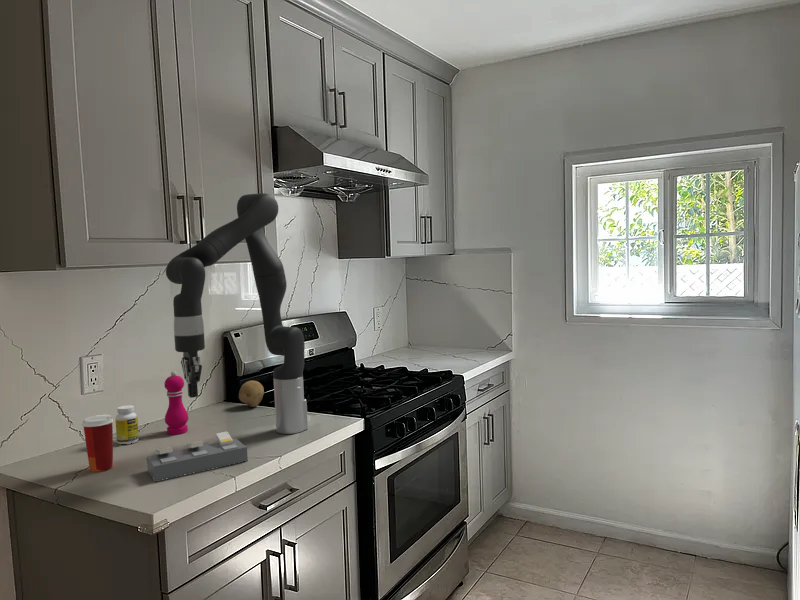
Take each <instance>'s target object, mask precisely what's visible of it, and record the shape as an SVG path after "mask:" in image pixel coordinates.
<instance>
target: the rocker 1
mask: <svg viewBox="0 0 800 600" xmlns="http://www.w3.org/2000/svg"><path fill="white" fill-rule="evenodd" d="M173 451H174V449H173V446H167V447H163V448H158V449H156V450H155V454H164V453H169V452H173Z"/></svg>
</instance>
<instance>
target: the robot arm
mask: <svg viewBox="0 0 800 600" xmlns="http://www.w3.org/2000/svg"><path fill="white" fill-rule="evenodd" d="M278 204H279V203H278V201H277V199H276V198H275V197H274V195H272V194H269V193H266V192H265V193H263V192H261V193H251V194H243V195H241V196H240V197H239V199H238V201H237V204H236V213H237V218H235V219H233V220H232V221H230V222H227V223H226V224H223V225H221V226H219V227H218V228H216V229H214V230H213V231H211V232H210V233H208V234H207V235H206V236H204V238H202V239H201V240H199V241H198V242H197V243H196V244H195V245H194V246H192V247H190V248H188V249H185V251H182V252H181V253H179V254H177V255H176V256H174V257H173V258H171V260H170V261H169V262H168V264H167V265H166V268H165V276H166V278H167V279H168V280H169V282H171V283H173V284H175V285H181V288H180V293H178V294H176V295H174V297H173V302H172V303H173V335H174V349H175V351H176V352H178V353H183V354H182V357H181V360H180V364H181V369H182V371H183V377H184V378H183V379H184V380H185V382H186V384H187V396H188V397H189V398H190V399H191V398H198V396H199V390H198V383H199V382H200V381H201V377H202V369H203V365H202V364H201V357H200V356H199V354H198V352H199V351H203V350H205V348H206V343H205V342H206V340H205V328H204V320H203V308H202V296H203V292H204V287H205V282H206V269H205V268H206V267H210V266H212V265H214V264H216V263H217V262H218V261H219V260H220V259H222V258H223V257H224V256H225V255H226V254H227V253H228V252H230V251H231V250H232V249H233V248H234V247H236V246H237V245H238V244H240V243H241V242H243V240H245V242H246V246H247V249H248V250H247V251H248V253H249V254H248V255H249V258H250V262H251V267H252V272H253V278H254V281H255V287H256V290H257V294H258V299H259V303H260V310H261V315H262V323H263V324H262V325H263V330H264V332H263V333H264V339H265V344H266V347H267V350H268V352H269V353H270V354H271V355H274V356H283V363H282V364H281V365H280V366H277V367H275V368H274V369H273V370H272V371H273V373H272V376H273V379H272V380H273V394H274V395H273V396H274V413H275V428H276V429H275V430H276V432H277V433H279V434H285V435H290V434H299V433H301V432H303V431H305V430H308V429H309V427H308V405H307V403H308V401H307V399H306V398H305V396H304V395H305V393H304V391H305V390H304V374H303V372H304V369H305V346H306V345H305V337H304V333H303V331H302V330H301V329H300V328H299V327H297V326H284V325H283V321H282V316H281V315H282V314H281V308H282V307H281V306H282V305H283V304H282V303H283V300H284V298H285V294H286V291H287V278H286V273H285V269H284V265H283V262H282V260H281V258H280V257H279V255H278V254H277V253H276V251H275V250H274V249H273V248H272V246H271V244H270V243H269V241H268V239H267V237H266V235H265V234H266V233H265V230H264V227H266V226H267V225H270V224H271V223H272V222H274V220H276V218H277V216H278V214H279V205H278Z"/></svg>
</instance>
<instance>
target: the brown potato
mask: <svg viewBox="0 0 800 600" xmlns="http://www.w3.org/2000/svg"><path fill="white" fill-rule="evenodd" d="M264 389H265V388H264V386H263V384H262V383H260V382H259V381H257V380H248V381H246V382H244V383H243V384H242V385H241V386H240V389H239V392H238V399H239V401H240V402H241V403H243V404H245V405H248V407H250V408H251V407H252V408H254V407H257V406H258V405H260V403H261V402H262V400H263V396H264V393H265V391H264Z"/></svg>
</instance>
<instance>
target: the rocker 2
mask: <svg viewBox="0 0 800 600" xmlns="http://www.w3.org/2000/svg"><path fill="white" fill-rule="evenodd" d="M215 438H216V440H217V442H219V443H220V445H221V446H226V445H231V444H233V439H234V438H232V437H231V435H230V433H229V432H228V431H222V432H216V433H215Z"/></svg>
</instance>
